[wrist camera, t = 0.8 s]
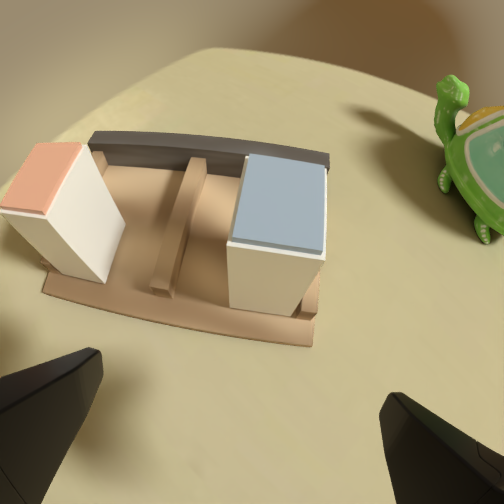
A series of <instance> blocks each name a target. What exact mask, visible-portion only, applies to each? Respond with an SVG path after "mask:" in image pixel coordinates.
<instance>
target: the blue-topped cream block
mask: <svg viewBox="0 0 504 504" xmlns="http://www.w3.org/2000/svg"><path fill="white" fill-rule="evenodd" d="M326 220H327V169H325V166H324V165H319V164H313V163H308V162H302V161H296V160H290V159H284V158H278V157H271V156H264V155H257V154H249V156H246V157H245V161H244V166H243V170H242V175H241V179H240V184H239V188H238V193H237V198H236V202H235V207H234V212H233V216H232V221H231V226H230V231H229V235H228V240H227V245H226V247H227V268H228V287H229V305H230V308H236V309H242V310H249V311H256V312H262V313H269V314H276V315H284V316H291V315H292V313H293V312H294V310H295V308H296V307H297V305H298V304H299V302H300V301H301V299H302V298H303V296H304V294H305V293H306V291H307V290H308V288H309V286H310V285H311V283H312V282H313V280H314V278H315V277H316V275H317V273H318V272H319V270H320V268H321V267H322V265H323V264H324V262H325V255H326Z"/></svg>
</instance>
